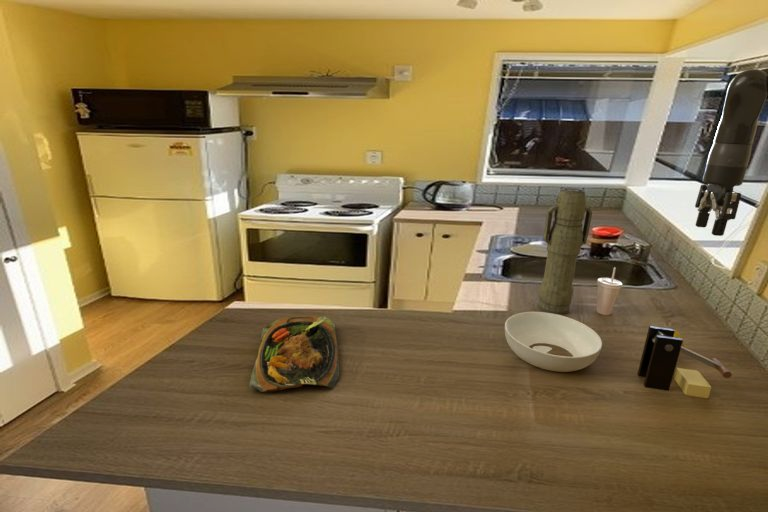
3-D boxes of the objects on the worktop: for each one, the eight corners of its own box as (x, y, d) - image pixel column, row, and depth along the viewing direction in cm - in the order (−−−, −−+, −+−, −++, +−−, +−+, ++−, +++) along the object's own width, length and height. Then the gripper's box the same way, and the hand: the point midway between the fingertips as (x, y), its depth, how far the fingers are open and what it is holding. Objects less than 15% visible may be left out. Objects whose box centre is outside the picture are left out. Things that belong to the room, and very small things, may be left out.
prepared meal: (341, 373, 84) (247, 378, 81) (340, 388, 85) (248, 393, 82) (334, 315, 111) (263, 317, 108) (334, 327, 112) (264, 329, 109)
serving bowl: (499, 373, 92) (503, 345, 90) (503, 330, 111) (506, 306, 109) (604, 393, 87) (611, 364, 84) (589, 344, 106) (594, 319, 103)
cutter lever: (714, 367, 87) (722, 358, 86) (726, 381, 83) (735, 372, 82) (649, 336, 88) (656, 327, 88) (657, 348, 84) (665, 339, 83)
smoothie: (609, 319, 119) (619, 272, 115) (587, 311, 124) (596, 266, 119) (619, 313, 123) (629, 268, 119) (597, 305, 128) (606, 261, 123)
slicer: (664, 378, 92) (678, 325, 88) (681, 403, 84) (698, 346, 80) (624, 372, 94) (636, 320, 90) (637, 396, 86) (651, 340, 82)
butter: (695, 382, 91) (700, 367, 90) (715, 409, 83) (721, 392, 82) (664, 378, 92) (668, 363, 91) (681, 403, 84) (686, 387, 83)
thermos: (527, 301, 129) (544, 187, 118) (564, 300, 130) (584, 187, 119) (541, 314, 121) (560, 192, 110) (580, 313, 122) (603, 192, 111)
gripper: (763, 167, 91) (741, 240, 96) (729, 161, 104) (711, 225, 109) (723, 165, 93) (704, 237, 98) (695, 160, 106) (679, 223, 111)
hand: (708, 230), depth 104 cm, fingers open, 8 cm apart
